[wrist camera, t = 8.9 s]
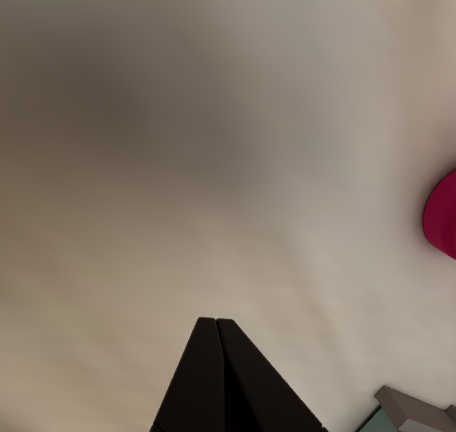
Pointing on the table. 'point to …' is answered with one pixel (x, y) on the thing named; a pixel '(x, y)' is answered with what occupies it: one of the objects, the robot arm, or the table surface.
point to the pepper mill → (442, 216)
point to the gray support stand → (415, 413)
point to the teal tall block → (380, 423)
